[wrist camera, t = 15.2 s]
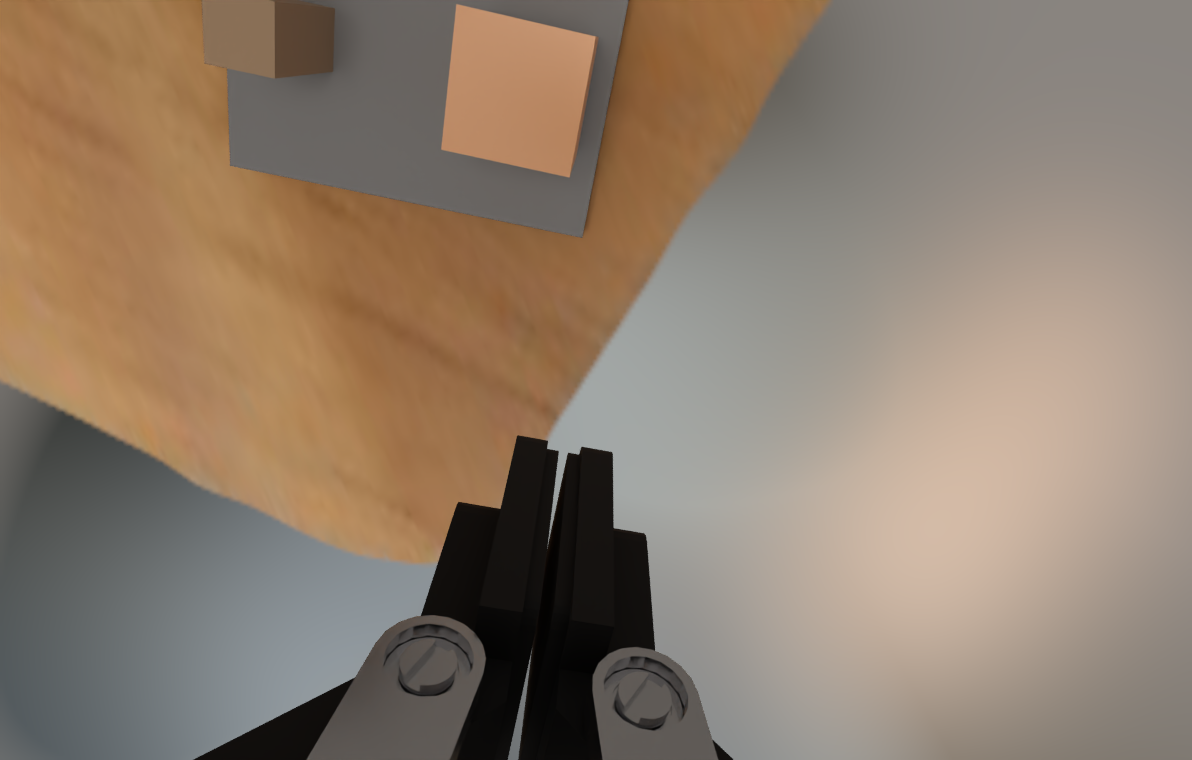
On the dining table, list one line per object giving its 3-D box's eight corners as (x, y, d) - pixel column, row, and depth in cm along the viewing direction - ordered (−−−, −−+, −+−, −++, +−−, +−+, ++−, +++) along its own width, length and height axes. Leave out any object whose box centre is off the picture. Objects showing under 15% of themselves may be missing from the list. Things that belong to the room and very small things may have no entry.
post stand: (235, -154, 34) (125, -211, 26) (639, -59, 35) (647, -87, 27) (242, 161, 40) (156, 190, 32) (583, 231, 41) (576, 274, 34)
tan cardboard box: (483, 10, 34) (456, 3, 28) (598, 37, 35) (596, 36, 29) (468, 131, 37) (441, 149, 31) (576, 155, 37) (569, 177, 31)
